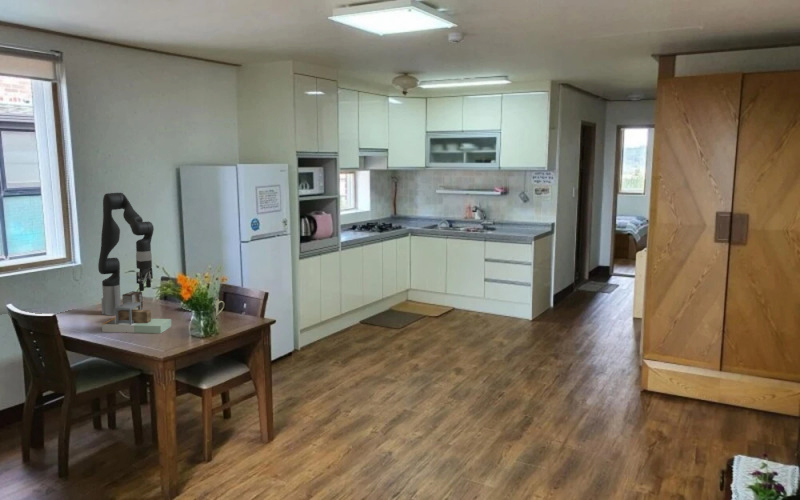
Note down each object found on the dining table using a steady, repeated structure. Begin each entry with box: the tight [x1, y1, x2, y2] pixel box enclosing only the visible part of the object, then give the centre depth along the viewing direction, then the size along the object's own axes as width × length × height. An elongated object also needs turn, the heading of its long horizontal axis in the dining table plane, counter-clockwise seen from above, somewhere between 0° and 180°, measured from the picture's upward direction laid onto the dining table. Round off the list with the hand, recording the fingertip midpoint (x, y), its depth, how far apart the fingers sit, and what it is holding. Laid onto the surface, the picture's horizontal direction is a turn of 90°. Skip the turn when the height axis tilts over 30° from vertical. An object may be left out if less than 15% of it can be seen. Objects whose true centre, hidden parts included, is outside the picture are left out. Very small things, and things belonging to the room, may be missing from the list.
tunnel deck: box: [101, 302, 172, 334], centre depth 312 cm, size 31×14×13 cm, turn 90°
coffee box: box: [121, 291, 144, 310], centre depth 328 cm, size 9×6×16 cm
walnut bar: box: [118, 309, 152, 323], centre depth 312 cm, size 16×4×6 cm, turn 90°
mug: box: [215, 297, 225, 317], centre depth 334 cm, size 11×10×12 cm
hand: (145, 289), depth 310 cm, fingers open, 8 cm apart
